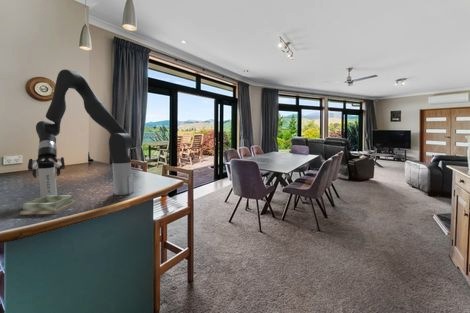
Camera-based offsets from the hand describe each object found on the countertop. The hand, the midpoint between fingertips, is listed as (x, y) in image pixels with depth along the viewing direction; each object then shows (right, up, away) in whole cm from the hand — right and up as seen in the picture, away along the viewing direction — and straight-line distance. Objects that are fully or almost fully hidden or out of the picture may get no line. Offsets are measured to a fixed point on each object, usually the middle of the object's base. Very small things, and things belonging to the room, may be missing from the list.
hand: (46, 175), depth 111 cm
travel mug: (0, -13, +2) cm, 13 cm away
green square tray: (+10, -14, -10) cm, 19 cm away
